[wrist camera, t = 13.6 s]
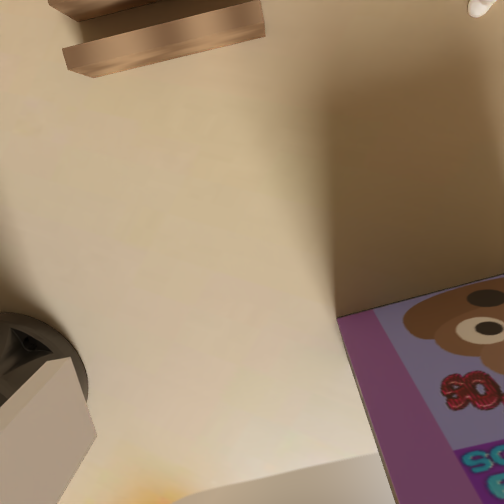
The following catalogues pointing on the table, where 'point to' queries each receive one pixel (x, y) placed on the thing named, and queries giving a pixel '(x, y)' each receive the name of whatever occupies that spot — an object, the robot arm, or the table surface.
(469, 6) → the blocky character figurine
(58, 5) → the rail
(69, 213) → the table surface
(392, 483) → the cereal box
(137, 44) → the brown flat block
